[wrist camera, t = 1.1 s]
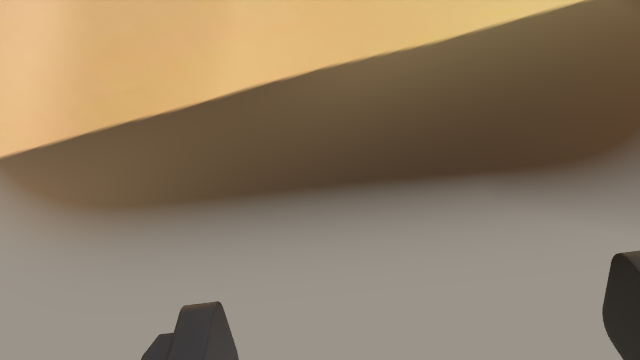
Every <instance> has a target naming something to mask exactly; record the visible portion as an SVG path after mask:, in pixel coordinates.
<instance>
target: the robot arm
mask: <svg viewBox="0 0 640 360" xmlns="http://www.w3.org/2000/svg"><path fill="white" fill-rule="evenodd" d="M603 322H604V326H605V329H606V331H607V334H608V336H609V338H610V340H611V342H612V343H613V345H614V346H615V348H616V349H617V351H618V352H619V354H620V355H621V356H622V358H623V360H640V251H634V252H626V253H619V254H616V255H615V256H614V257H613V259H612V262H611V267H610V272H609V277H608V283H607V288H606V293H605V299H604V304H603ZM141 360H239V359H238V353H237V350H236V346H235V343H234V340H233V337H232V334H231V331H230V328H229V325H228V322H227V318H226V315H225V312H224V309H223V306H222V304H221V303H220V302H211V303H203V304H194V305H186V306H183V307H182V308H181V311H180V313H179V317H178V320H177V324H176V327H175V330H174V333H169V334H160V335H159V336H158V337H157V338H156V339H155V341H154V342H153V343H152V345H151V346H150V347H149V348H148V350H147V351H146V352H145V353H144V355H143V356H142V359H141Z"/></svg>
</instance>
